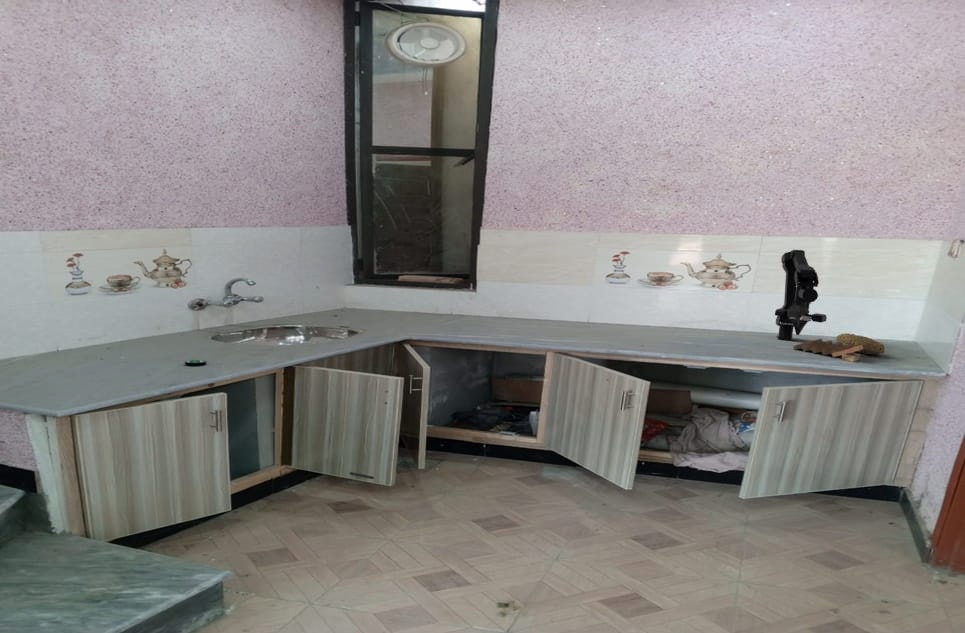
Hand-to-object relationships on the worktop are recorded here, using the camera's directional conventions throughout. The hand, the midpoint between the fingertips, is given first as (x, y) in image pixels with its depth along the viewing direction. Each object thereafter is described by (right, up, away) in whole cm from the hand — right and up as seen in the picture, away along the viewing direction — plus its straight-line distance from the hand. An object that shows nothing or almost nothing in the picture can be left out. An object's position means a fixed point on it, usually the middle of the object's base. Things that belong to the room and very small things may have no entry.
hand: (797, 335), depth 249 cm
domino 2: (+2, -6, -2) cm, 7 cm away
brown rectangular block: (0, -5, +1) cm, 5 cm away
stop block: (+14, -9, -14) cm, 22 cm away
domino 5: (+10, -8, -10) cm, 16 cm away
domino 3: (+5, -6, -5) cm, 9 cm away
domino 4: (+7, -7, -7) cm, 12 cm away
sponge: (+26, -7, 0) cm, 27 cm away
